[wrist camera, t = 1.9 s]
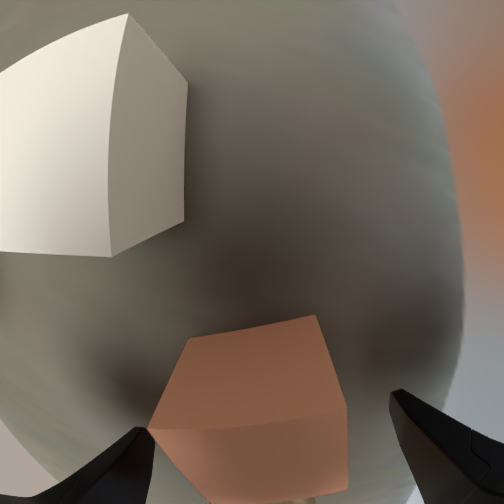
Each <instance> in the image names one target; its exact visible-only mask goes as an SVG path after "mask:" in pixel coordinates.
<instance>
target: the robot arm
mask: <svg viewBox="0 0 504 504" xmlns="http://www.w3.org/2000/svg"><path fill="white" fill-rule="evenodd" d="M389 412H390V415H391V418H392V421H393V424H394V428H395V431H396V434H397V438H398V441H399V444H400V447H401V449H402V452H403V454H404V456H405V458H406V460H407V463H408V465H409V467H410V470H411V472H412V474H413V476H414V479H415V481H416V483H417V486H418V488H419V491H420V493H421V495H422V498H423V500H424V503H425V504H504V444H503V443H501V442H498V441H496V440H493V439H491V438H488V437H487V436H485V435H483V434H481V433H479V432H477V431H475V430H471V428H469V427H468V426H466V425H464V424H462V423H460V422H459V421H457V420H455V419H453V418H451V417H450V416H448V415H446V414H444V413H443V412H441V411H439V410H438V409H436V408H434V407H432V406H431V405H429V404H427V403H425V402H424V401H422V400H420V399H419V398H417V397H415V396H414V395H412V394H410V393H409V392H407V391H405V390H404V389H398V390H395V391H392V392H391V393H390V401H389ZM154 450H155V441H154V439H153V437H152V436H151V435H150V433H149V432H148V430H147V429H146V428H145V427H134V428H133V429H132V430H130V431H129V432H128V433H127V434H125V435H124V436H123V437H122V438H120V439H119V440H118V441H116V442H115V443H114V444H113V445H111V446H110V447H109V448H107V449H106V450H105V451H104V452H102V453H101V454H100V455H98V456H97V457H96V458H94V459H93V460H92V461H90V462H89V463H88V464H86V465H85V466H83V467H82V468H81V469H79V470H78V471H77V472H75V473H74V474H72V475H71V476H69V477H68V478H66V479H65V480H63V481H62V482H60V483H58V484H57V485H55V486H53V487H51V488H49V489H48V490H46V491H44V492H42V493H40V494H38V495H35V496H33V497H17V496H9V495H2V494H0V504H145V503H146V498H147V494H148V489H149V485H150V481H151V476H152V468H153V459H154Z"/></svg>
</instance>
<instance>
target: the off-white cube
mask: <svg viewBox="0 0 504 504" xmlns="http://www.w3.org/2000/svg"><path fill="white" fill-rule="evenodd" d="M187 91H188V82H187V81H186V80H185V79H184V77H183V76H182V75H181V74H180V73H179V71H178V70H177V69H176V68H175V66H174V65H173V64H172V63H171V62H170V60H169V59H168V58H167V57H166V56H165V54H164V53H163V52H162V51H161V50H160V48H159V47H158V46H157V45H156V44H155V43H154V41H153V40H152V39H151V38H150V37H149V36H148V34H147V33H146V32H145V31H144V30H143V29H142V28H141V26H140V25H139V24H138V23H137V22H136V21H135V20H134V19H133V17H132V16H131V15H130V14H129V13H128V14H124V15H121V16H118V17H114V18H111V19H108V20H105V21H102V22H100V23H97V24H94V25H92V26H89V27H86V28H84V29H81V30H79V31H77V32H74V33H72V34H70V35H67V36H65V37H63V38H61V39H59V40H57V41H55V42H53V43H51V44H49V45H47V46H45V47H43V48H41V49H39V50H37V51H35V52H34V53H32V54H30V55H28V56H27V57H25V58H23V59H21V60H20V61H18V62H17V63H15V64H13V65H12V66H10V67H9V68H7V69H6V70H4V71H3V72H1V73H0V251H5V252H22V253H39V254H58V255H77V256H97V257H113V256H115V255H117V254H119V253H121V252H123V251H125V250H126V249H128V248H130V247H132V246H134V245H136V244H138V243H140V242H142V241H144V240H146V239H148V238H150V237H152V236H154V235H156V234H158V233H161V232H163V231H165V230H167V229H169V228H171V227H173V226H175V225H177V224H179V223H182V222H184V151H185V125H186V106H187Z"/></svg>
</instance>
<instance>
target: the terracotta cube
mask: <svg viewBox="0 0 504 504" xmlns="http://www.w3.org/2000/svg"><path fill="white" fill-rule="evenodd" d="M147 429H148V431H149V432H150V433H151V435H152V436H153V437H154V439H155V440H156V442H157V443H158V444H159V446H160V447H161V448H162V449H163V451H164V452H165V453H166V455H167V456H168V457H169V458H170V460H171V461H172V462H173V463H174V464H175V466H176V467H177V468H178V469H179V470H180V472H181V473H182V474H183V475H184V476H185V477H186V478H187V480H188V481H189V482H190V483H191V484H192V485H193V486H194V487H195V488H196V489H197V491H198V492H199V493H200V494H201V495H202V496H203V497H204V498H205V499H206V500H207V501H208V502H209V503H210V504H257V503H271V502H282V501H291V500H298V499H305V498H311V497H317V496H322V495H327V494H332V493H337V492H341V491H345V490H348V418H347V406H346V403H345V400H344V396H343V393H342V390H341V387H340V384H339V381H338V378H337V375H336V372H335V369H334V366H333V363H332V360H331V358H330V355H329V352H328V349H327V346H326V343H325V340H324V337H323V335H322V332H321V329H320V326H319V323H318V321H317V318H316V315H315V314H314V315H310V316H306V317H301V318H297V319H292V320H288V321H283V322H278V323H273V324H268V325H263V326H258V327H253V328H248V329H242V330H237V331H231V332H225V333H219V334H213V335H207V336H200V337H194V338H189V339H188V341H187V343H186V345H185V347H184V349H183V351H182V354H181V356H180V358H179V360H178V362H177V364H176V366H175V369H174V371H173V373H172V375H171V377H170V379H169V381H168V384H167V386H166V388H165V390H164V392H163V394H162V397H161V399H160V401H159V403H158V405H157V408H156V410H155V412H154V414H153V416H152V419H151V421H150V423H149V425H148V427H147Z"/></svg>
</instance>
